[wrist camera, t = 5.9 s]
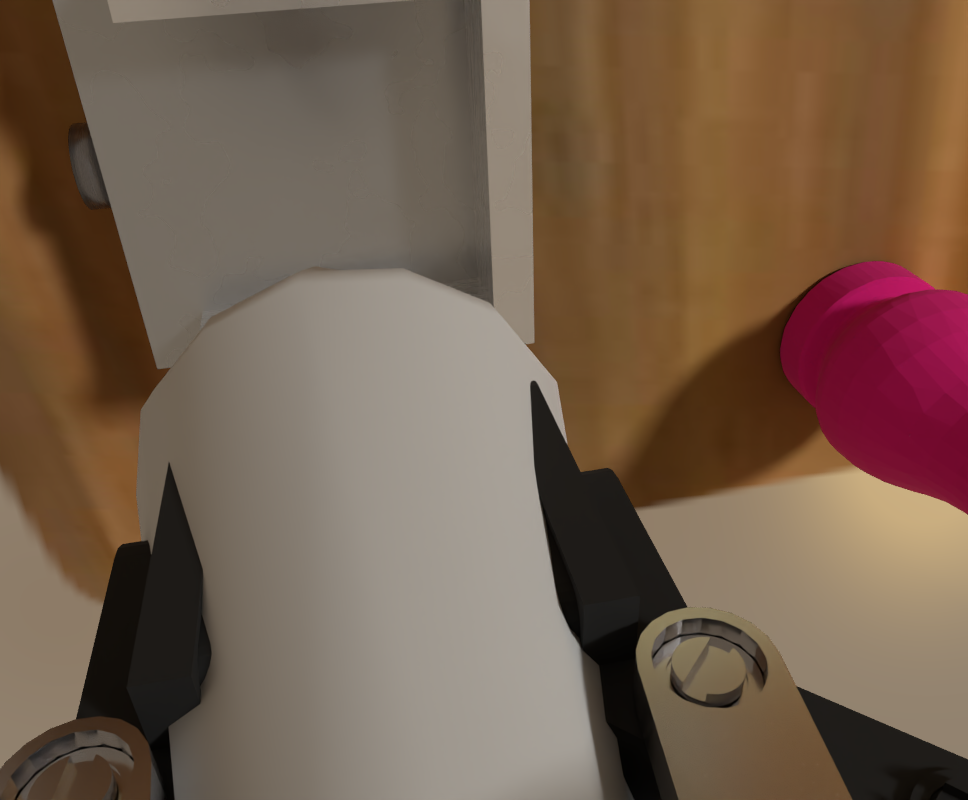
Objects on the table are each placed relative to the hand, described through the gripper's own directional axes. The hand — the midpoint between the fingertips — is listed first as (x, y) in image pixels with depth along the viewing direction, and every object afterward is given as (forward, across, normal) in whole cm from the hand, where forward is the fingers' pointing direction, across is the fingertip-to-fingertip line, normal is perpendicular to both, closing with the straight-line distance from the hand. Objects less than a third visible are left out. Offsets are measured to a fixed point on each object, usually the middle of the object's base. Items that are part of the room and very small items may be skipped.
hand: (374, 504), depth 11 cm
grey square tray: (+19, 0, 0) cm, 19 cm away
